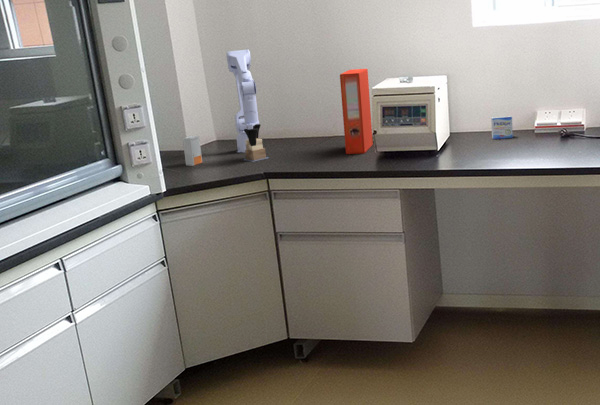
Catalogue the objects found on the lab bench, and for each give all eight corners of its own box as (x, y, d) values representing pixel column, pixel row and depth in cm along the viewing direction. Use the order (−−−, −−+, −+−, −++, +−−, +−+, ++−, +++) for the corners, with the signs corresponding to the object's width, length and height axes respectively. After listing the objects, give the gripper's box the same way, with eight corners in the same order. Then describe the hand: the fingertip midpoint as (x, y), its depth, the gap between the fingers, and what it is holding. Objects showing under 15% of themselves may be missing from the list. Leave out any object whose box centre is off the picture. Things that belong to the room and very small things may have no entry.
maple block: (246, 149, 321) (245, 140, 320) (256, 147, 323) (255, 138, 322) (252, 150, 317) (251, 141, 316) (263, 148, 319) (261, 138, 318)
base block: (246, 159, 322) (244, 149, 321) (258, 156, 325) (256, 147, 324) (254, 160, 317) (252, 151, 316) (266, 157, 320) (265, 148, 319)
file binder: (373, 144, 328) (367, 68, 320) (365, 153, 312) (359, 72, 304) (354, 145, 330) (348, 69, 322) (346, 154, 314) (338, 74, 307)
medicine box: (492, 139, 313) (491, 118, 310) (491, 137, 317) (490, 116, 315) (513, 138, 311) (512, 116, 309) (511, 136, 315) (511, 115, 313)
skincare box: (194, 167, 321) (189, 138, 318) (186, 166, 323) (181, 138, 320) (203, 163, 326) (199, 135, 323) (195, 163, 328) (191, 135, 325)
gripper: (242, 109, 323) (246, 141, 327) (238, 114, 309) (242, 148, 313) (259, 108, 323) (263, 140, 326) (256, 112, 309) (259, 146, 312)
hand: (254, 144), depth 319 cm, fingers open, 7 cm apart
